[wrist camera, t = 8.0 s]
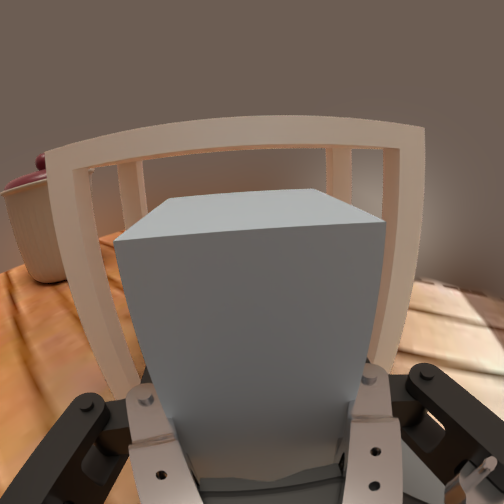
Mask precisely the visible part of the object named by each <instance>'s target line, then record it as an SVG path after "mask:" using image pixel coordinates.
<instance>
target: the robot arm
mask: <svg viewBox="0 0 504 504" xmlns="http://www.w3.org/2000/svg"><path fill="white" fill-rule="evenodd" d="M428 411H429V412H430V413H431V414H432V415H433V416H434V417H435V418H436V419H437V420H438V421H439V422H440V423H442V425H443V426H444V428H445V430H444V429H443V428H442V427H441V426H440V425H439V424H438V423H437V422H436V421H434V420H433V419H432V418H431V417H430V416H429V415H428V414H427V412H428ZM401 439H402V440H403V441H404V442H405V443H406V444H407V445H408V447H409V448H410V449H411V450H412V451H413V452H414V453H415V454H416V455H417V456H418V457H419V459H420V460H421V461H422V462H423V463H424V464H425V465H426V466H427V467H428V468H429V469H430V470H431V472H432V473H433V474H434V475H435V476H436V477H437V478H438V479H439V480H440V481H441V482H442V483H443V484H444V486H445V491H444V495H445V497H444V503H445V504H504V421H503V420H501V419H500V418H499V417H498V416H497V415H495V414H494V413H493V412H492V411H491V410H489V409H488V408H487V407H486V406H485V405H483V404H482V403H481V402H480V401H479V400H477V399H476V398H475V397H474V396H472V395H471V394H470V393H469V392H468V391H466V390H465V389H464V388H463V387H461V386H460V385H459V384H458V383H457V382H455V381H454V380H453V379H452V378H450V377H449V376H448V375H447V374H445V373H444V372H443V371H442V370H440V369H439V368H438V367H436V366H435V365H432V364H429V363H419V364H416V365H414V366H413V367H412V368H411V369H410V372H409V374H408V375H390V374H387V372H386V371H385V369H383V368H382V367H381V366H379V365H376V364H371V363H370V361H369V359H368V358H366V362H365V366H364V370H363V374H362V378H361V382H360V386H359V389H358V393H357V397H356V399H355V400H351V401H349V403H348V406H347V410H346V422H345V430H344V435H343V437H340V438H338V440H337V443H336V447H335V455H334V461H333V464H330V465H326V466H321V467H316V468H311V469H305V470H303V471H300V472H298V473H295V474H292V475H290V476H287V477H284V478H281V479H278V480H275V481H271V482H266V481H257V480H249V479H242V478H235V477H229V478H200V480H199V478H198V476H197V474H196V471H195V469H194V467H193V464H192V462H191V459H190V457H189V455H188V453H185V451H184V448H183V446H182V443H181V441H180V438H179V435H178V432H177V429H176V426H175V424H174V422H173V419H172V418H167V417H166V415H165V412H164V410H163V408H162V405H161V403H160V400H159V398H158V395H157V393H156V390H155V388H154V385H153V382H152V380H151V377H150V374H149V372H148V369H147V366H146V367H145V370H144V373H143V377H142V380H141V383H140V384H139V385H137V386H135V387H133V388H132V389H131V390H130V391H129V392H128V393H127V395H126V398H124V399H121V400H115V401H109V402H104V400H103V398H102V397H101V396H100V395H98V394H96V393H84V394H81V395H79V396H78V397H76V398H75V399H74V400H73V401H72V403H71V404H70V405H69V406H68V408H67V409H66V410H65V411H64V413H63V414H62V415H61V416H60V418H59V419H58V420H57V422H56V423H55V424H54V425H53V427H52V428H51V429H50V431H49V432H48V433H47V434H46V436H45V437H44V438H43V440H42V441H41V442H40V444H39V445H38V446H37V448H36V449H35V450H34V452H33V453H32V454H31V456H30V457H29V459H28V460H27V461H26V463H25V464H24V465H23V467H22V468H21V470H20V471H19V472H18V474H17V475H16V477H15V478H14V479H13V481H12V482H11V484H10V485H9V487H8V488H7V490H6V491H5V492H4V494H3V495H2V497H1V498H0V504H104V502H105V500H106V498H107V496H108V494H109V492H110V491H111V489H112V487H113V485H114V483H115V481H116V479H117V477H118V476H119V474H120V472H121V470H122V468H123V466H124V464H125V463H126V461H127V459H128V457H129V455H130V460H131V465H132V470H133V474H134V479H135V483H136V487H137V491H138V495H139V499H140V502H141V504H429V503H427V502H425V501H422V500H420V499H418V498H416V497H413V496H411V495H409V494H407V493H405V492H403V471H402V447H401Z"/></svg>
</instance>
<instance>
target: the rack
mask: <svg viewBox="0 0 504 504" xmlns="http://www.w3.org/2000/svg"><path fill="white" fill-rule="evenodd" d="M424 131H425V130H424V127H418V126H412V125H406V124H399V123H392V122H385V121H376V120H367V119H357V118H345V117H329V116H301V115H269V116H241V117H226V118H213V119H202V120H193V121H184V122H176V123H170V124H162V125H156V126H150V127H144V128H138V129H133V130H128V131H123V132H118V133H114V134H109V135H104V136H100V137H96V138H92V139H88V140H84V141H80V142H76V143H73V144H69V145H66V146H62V147H59V148H55V149H52V150H49V151H46V152H45V164H46V174H47V183H48V191H49V198H50V205H51V211H52V216H53V222H54V227H55V232H56V237H57V241H58V246H59V250H60V254H61V258H62V262H63V266H64V270H65V274H66V277H67V281H68V284H69V287H70V291H71V294H72V297H73V300H74V303H75V306H76V309H77V312H78V315H79V318H80V320H81V323H82V326H83V328H84V331H85V334H86V336H87V339H88V341H89V344H90V346H91V349H92V351H93V353H94V356H95V358H96V360H97V362H98V365H99V367H100V369H101V371H102V373H103V375H104V378H105V380H106V382H107V384H108V386H109V388H110V390H111V392H112V394H113V396H114V397H115V399H116V400H121V399H124V398H126V395H127V393H128V392H129V391H130V390H131V389H132V388H133V387H135V386H137V385H139V384H140V383H141V380H140V378H139V375H138V373H137V370H136V368H135V365H134V362H133V360H132V357H131V354H130V351H129V349H128V346H127V343H126V340H125V337H124V334H123V331H122V328H121V325H120V322H119V319H118V315H117V312H116V309H115V305H114V302H113V298H112V295H111V291H110V287H109V283H108V279H107V275H106V271H105V267H104V263H103V258H102V254H101V249H100V244H99V239H98V234H97V229H96V223H95V218H94V211H93V205H92V198H91V191H90V182H89V174H88V169H89V168H95V167H102V166H109V165H115V164H117V169H118V179H119V187H120V196H121V203H122V209H123V210H122V211H123V216H124V223H125V230H128V229H129V228H130V227H131V226H133V225H134V224H135V223H137V222H138V221H139V220H141V219H142V218H143V217H145V216H146V215H147V214H148V211H147V202H146V194H145V185H144V175H143V165H142V160H148V159H155V158H162V157H170V156H178V155H187V154H196V153H207V152H219V151H232V150H248V149H273V148H326V177H327V178H326V179H327V180H326V182H327V195H329V196H332V197H334V198H336V199H339V200H341V201H343V202H345V203H348V204H350V205H351V201H352V199H351V198H352V160H351V159H352V157H351V156H352V155H351V149H383V204H382V220H384V221H386V222H387V223H386V236H385V247H384V257H383V266H382V274H381V282H380V289H379V295H378V302H377V308H376V314H375V319H374V325H373V330H372V335H371V340H370V344H369V349H368V353H367V358H368V359H369V361H370V363H371V364H376V365H379V366H381V367H382V368H383V369H385V371H386V372H387V374H390V372H391V369H392V366H393V363H394V360H395V356H396V353H397V350H398V346H399V343H400V339H401V335H402V332H403V328H404V324H405V320H406V315H407V311H408V307H409V302H410V297H411V293H412V287H413V282H414V277H415V271H416V264H417V258H418V251H419V244H420V235H421V227H422V215H423V202H424V186H425V132H424Z"/></svg>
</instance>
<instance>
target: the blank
mask: <svg viewBox="0 0 504 504" xmlns="http://www.w3.org/2000/svg"><path fill="white" fill-rule="evenodd" d="M386 223H387V222H386V221H384V220H382V219H380V218H378V217H376V216H373V215H371V214H369V213H367V212H365V211H363V210H361V209H358V208H356V207H354V206H352V205H350V204H348V203H345V202H343V201H341V200H339V199H336V198H334V197H332V196H329V195H327V194H325V193H322V192H320V191H318V190H315V189H293V190H270V191H252V192H238V193H224V194H211V195H200V196H189V197H179V198H169V199H168V200H166V201H165V202H163V203H162V204H161V205H159V206H158V207H157V208H155V209H154V210H153V211H151V212H150V213H149V214H147V215H146V216H145V217H143V218H142V219H141V220H139V221H138V222H137V223H135V224H134V225H133V226H131V227H130V228H129V229H128V230H126V231H125V232H124V233H123V234H121V235H120V236H119V237H118V238H116V239H115V240H114V241H113V243H114V248H115V253H116V258H117V263H118V268H119V272H120V277H121V281H122V285H123V289H124V293H125V297H126V301H127V305H128V308H129V312H130V316H131V319H132V322H133V326H134V329H135V333H136V336H137V339H138V342H139V345H140V348H141V351H142V354H143V357H144V360H145V363H146V366H147V369H148V372H149V374H150V377H151V380H152V382H153V385H154V388H155V390H156V393H157V395H158V398H159V400H160V403H161V405H162V408H163V410H164V412H165V415H166V417H167V418H172V419H173V422H174V424H175V426H176V429H177V432H178V435H179V438H180V441H181V443H182V446H183V448H184V451H185V453H188V455H189V457H190V459H191V462H192V464H193V467H194V469H195V471H196V474H197V476H198V478H199V480H200V478H229V477H235V478H242V479H249V480H257V481H266V482H271V481H275V480H278V479H281V478H284V477H287V476H290V475H292V474H295V473H298V472H300V471H303V470H305V469H311V468H316V467H321V466H326V465H330V464H333V461H334V455H335V447H336V443H337V440H338V438H340V437H343V435H344V430H345V422H346V410H347V406H348V403H349V401H351V400H355V399H356V397H357V393H358V389H359V386H360V382H361V378H362V374H363V370H364V366H365V362H366V358H367V353H368V349H369V344H370V340H371V335H372V330H373V325H374V319H375V314H376V308H377V302H378V295H379V289H380V282H381V274H382V266H383V257H384V247H385V236H386Z"/></svg>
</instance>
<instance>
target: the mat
mask: <svg viewBox="0 0 504 504" xmlns="http://www.w3.org/2000/svg"><path fill="white" fill-rule="evenodd" d="M401 447H402V471H403V492H405V493H407V494H409V495H411V496H413V497H416V498H418V499H420V500H422V501H425V502H427V503H429V504H445V503H444V497H445V495H444V491H445V486H444V484H443V483H442V482H441V481H440V480H439V479H438V478H437V477H436V476H435V475H434V474H433V473H432V472H431V470H430V469H429V468H428V467H427V466H426V465H425V464H424V463H423V462H422V461H421V460H420V459H419V457H418V456H417V455H416V454H415V453H414V452H413V451H412V450H411V449H410V448H409V447H408V445H407V444H406V443H405V442H404V441H403V440H402V439H401Z"/></svg>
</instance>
